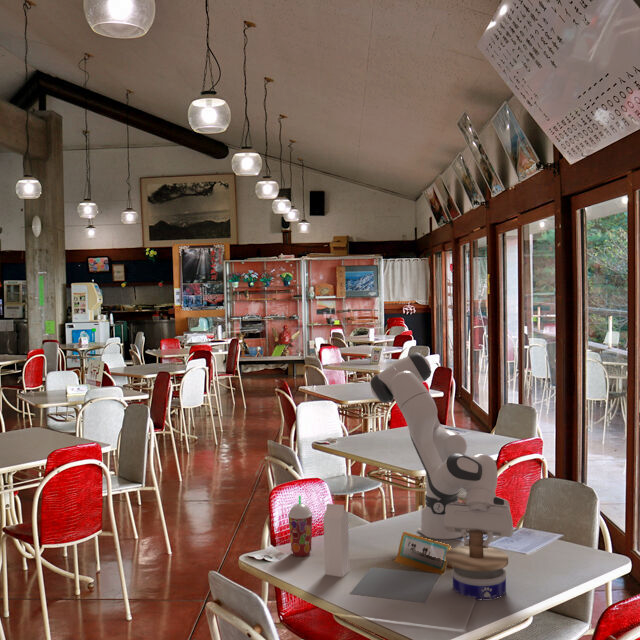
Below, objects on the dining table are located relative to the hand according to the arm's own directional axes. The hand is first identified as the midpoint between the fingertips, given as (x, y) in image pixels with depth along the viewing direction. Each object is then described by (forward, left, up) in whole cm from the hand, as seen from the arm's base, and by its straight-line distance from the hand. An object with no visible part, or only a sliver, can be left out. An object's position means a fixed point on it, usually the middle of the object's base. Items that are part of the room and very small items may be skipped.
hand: (476, 546), depth 205 cm
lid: (-1, 0, -4) cm, 4 cm away
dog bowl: (-1, 0, -13) cm, 13 cm away
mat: (+3, -24, -13) cm, 27 cm away
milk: (-1, -44, -13) cm, 46 cm away
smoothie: (-15, -62, -13) cm, 65 cm away
